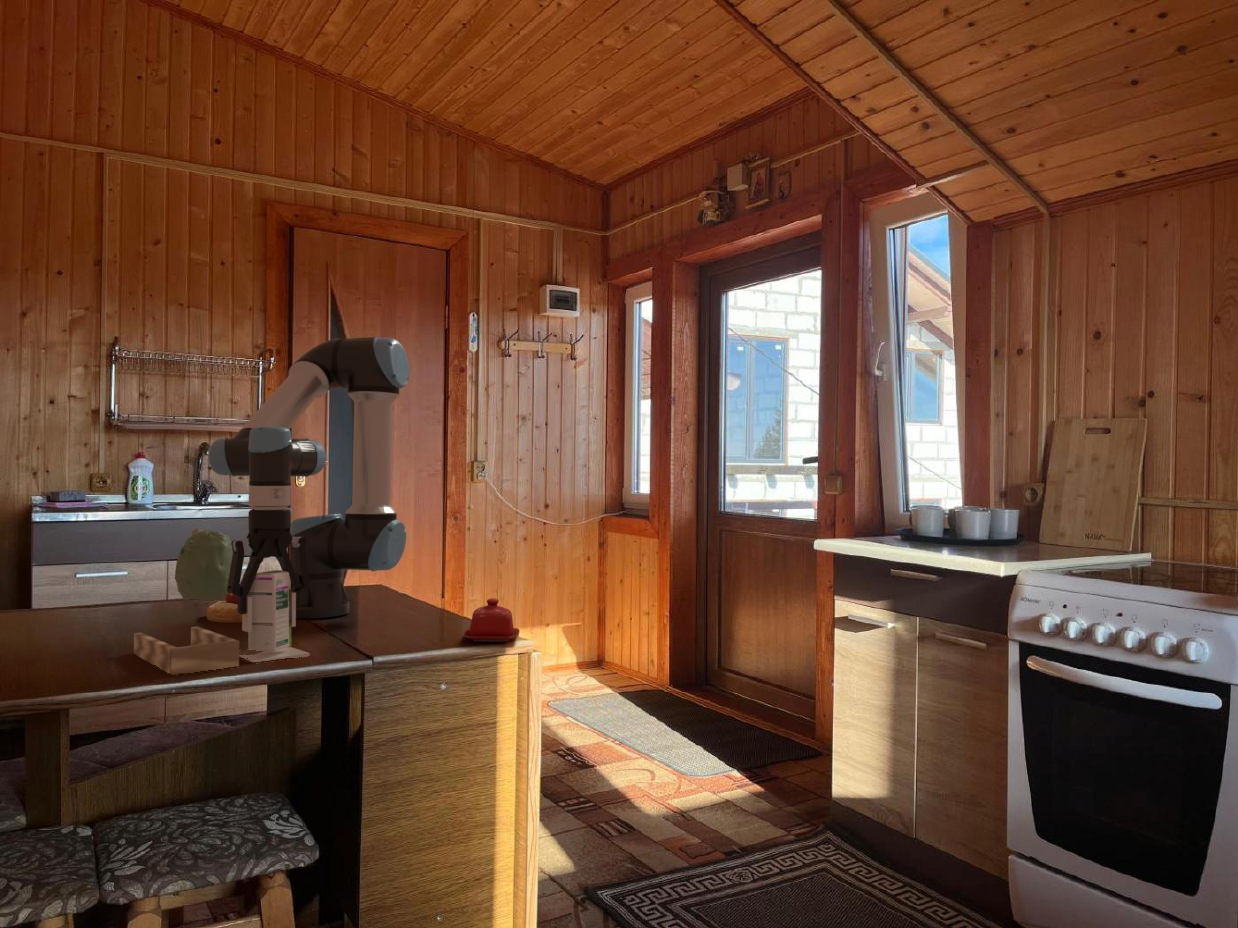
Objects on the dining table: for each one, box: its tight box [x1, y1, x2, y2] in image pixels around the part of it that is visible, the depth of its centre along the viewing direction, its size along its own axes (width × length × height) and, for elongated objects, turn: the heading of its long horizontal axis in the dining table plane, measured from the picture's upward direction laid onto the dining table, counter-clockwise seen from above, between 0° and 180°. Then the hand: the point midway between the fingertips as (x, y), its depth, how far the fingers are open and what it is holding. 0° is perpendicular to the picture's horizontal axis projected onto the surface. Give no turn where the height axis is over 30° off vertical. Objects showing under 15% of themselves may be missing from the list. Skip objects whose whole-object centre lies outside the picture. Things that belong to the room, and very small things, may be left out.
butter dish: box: [463, 597, 520, 642], centre depth 200 cm, size 12×12×8 cm
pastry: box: [206, 593, 242, 624], centre depth 212 cm, size 12×12×9 cm
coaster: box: [239, 646, 311, 662], centre depth 179 cm, size 11×11×1 cm
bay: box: [133, 626, 240, 675], centre depth 171 cm, size 20×11×5 cm, turn 44°
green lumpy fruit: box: [174, 528, 233, 601], centre depth 239 cm, size 16×19×20 cm
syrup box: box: [247, 569, 292, 651], centre depth 178 cm, size 6×6×14 cm
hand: (269, 628), depth 179 cm, fingers closed on syrup box, 8 cm apart
